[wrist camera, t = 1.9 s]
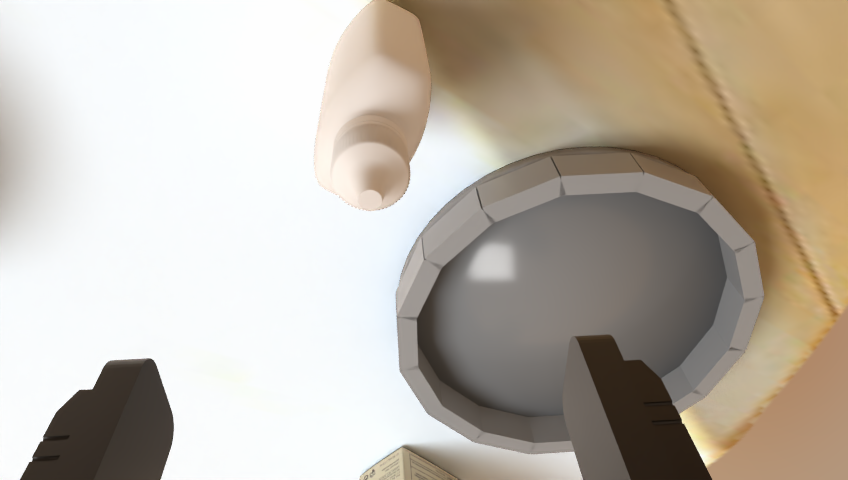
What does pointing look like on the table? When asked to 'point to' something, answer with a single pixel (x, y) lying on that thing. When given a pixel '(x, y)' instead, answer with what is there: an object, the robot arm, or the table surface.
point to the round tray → (571, 290)
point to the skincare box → (405, 468)
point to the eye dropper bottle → (373, 107)
